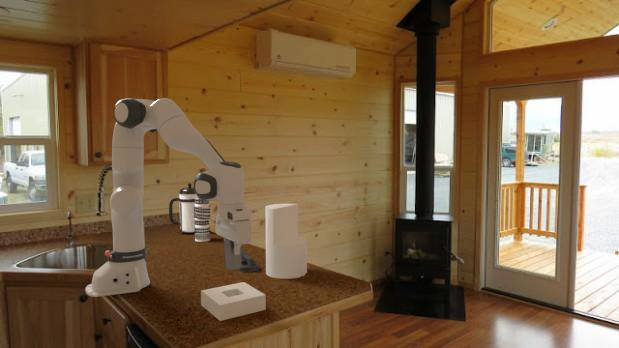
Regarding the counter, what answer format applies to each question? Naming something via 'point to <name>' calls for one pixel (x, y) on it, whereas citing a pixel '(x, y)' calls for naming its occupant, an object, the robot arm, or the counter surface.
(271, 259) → the cylinder
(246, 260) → the zipper pull
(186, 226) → the coffee press
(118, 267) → the robot arm
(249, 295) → the well block
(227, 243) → the metal bar
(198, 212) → the decorative candle
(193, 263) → the counter surface
